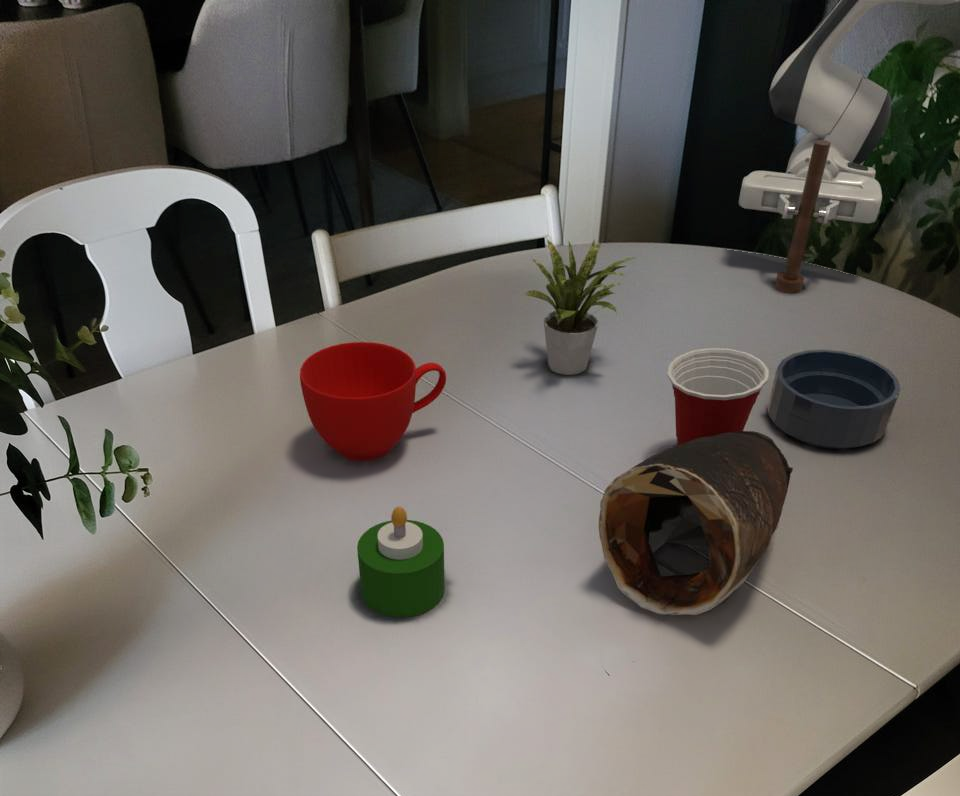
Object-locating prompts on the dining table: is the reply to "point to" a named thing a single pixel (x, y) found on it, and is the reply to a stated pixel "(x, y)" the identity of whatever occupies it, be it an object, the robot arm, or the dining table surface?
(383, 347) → the ceramic cup
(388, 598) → the candle
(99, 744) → the dining table surface
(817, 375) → the bowl
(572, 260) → the house plant
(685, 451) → the brown hollow cylinder
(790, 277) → the stirring stick
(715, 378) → the plastic cup
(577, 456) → the dining table surface
